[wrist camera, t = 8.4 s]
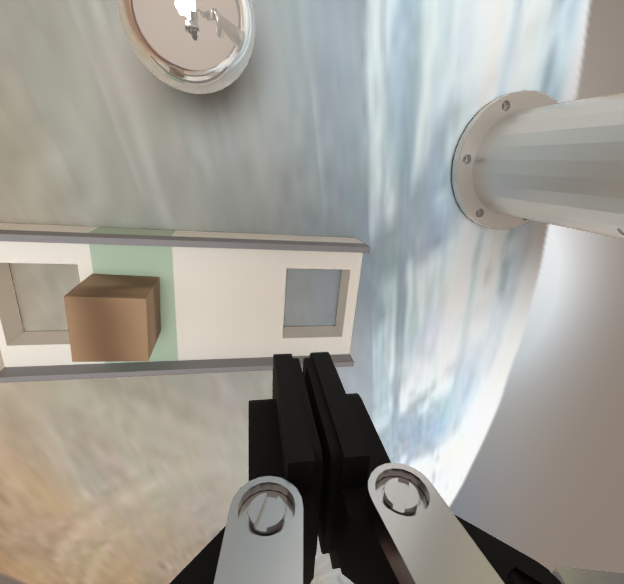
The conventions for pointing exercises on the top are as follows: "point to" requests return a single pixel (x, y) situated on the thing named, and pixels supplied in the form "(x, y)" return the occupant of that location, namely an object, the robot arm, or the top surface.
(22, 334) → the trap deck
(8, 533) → the top surface
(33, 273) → the top surface
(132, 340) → the walnut block
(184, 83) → the light bulb
